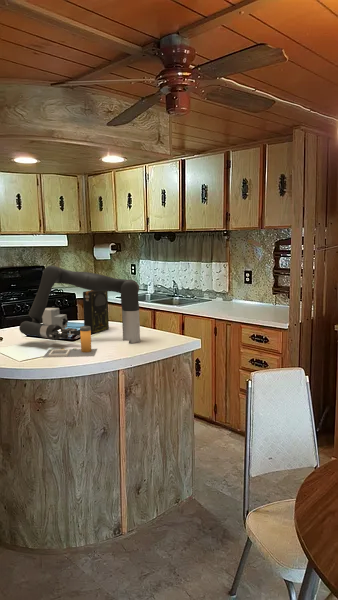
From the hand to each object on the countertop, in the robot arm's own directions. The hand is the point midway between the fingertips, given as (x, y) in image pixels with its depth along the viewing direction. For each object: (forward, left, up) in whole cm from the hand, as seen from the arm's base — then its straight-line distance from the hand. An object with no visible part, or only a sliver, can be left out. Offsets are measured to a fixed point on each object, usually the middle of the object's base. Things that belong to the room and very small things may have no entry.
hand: (73, 334), depth 229 cm
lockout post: (-6, +5, -7) cm, 11 cm away
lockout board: (+1, +8, -9) cm, 12 cm away
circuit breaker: (+18, -41, -9) cm, 46 cm away
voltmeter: (-5, -47, -9) cm, 48 cm away
